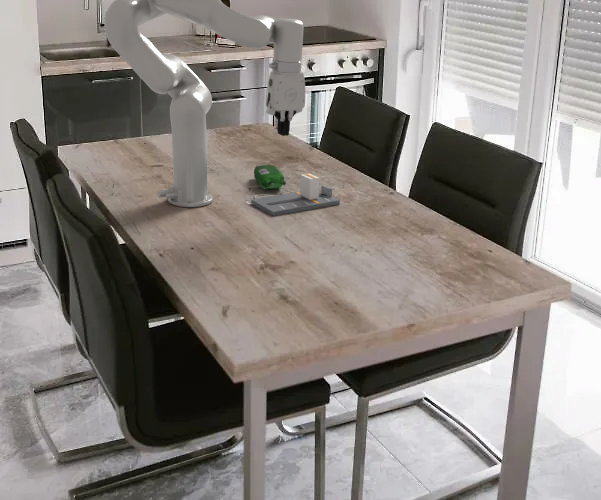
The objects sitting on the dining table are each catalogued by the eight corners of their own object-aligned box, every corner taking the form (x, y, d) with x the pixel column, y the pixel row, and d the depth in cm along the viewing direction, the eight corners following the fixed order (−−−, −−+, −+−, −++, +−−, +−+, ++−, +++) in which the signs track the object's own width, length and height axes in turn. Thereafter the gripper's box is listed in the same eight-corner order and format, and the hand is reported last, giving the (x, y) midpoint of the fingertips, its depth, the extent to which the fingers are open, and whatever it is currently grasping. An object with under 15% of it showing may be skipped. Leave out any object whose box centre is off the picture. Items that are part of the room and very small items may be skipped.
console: (273, 216, 244) (273, 203, 242) (251, 203, 253) (251, 191, 252) (339, 204, 255) (340, 192, 254) (316, 192, 264) (316, 180, 263)
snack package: (262, 194, 262) (263, 177, 260) (251, 178, 276) (251, 162, 274) (286, 193, 264) (287, 176, 262) (274, 177, 278) (274, 161, 276)
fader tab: (309, 199, 253) (310, 178, 251) (300, 194, 257) (300, 174, 255) (318, 198, 255) (319, 177, 252) (308, 193, 258) (309, 172, 256)
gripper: (270, 70, 231) (266, 140, 238) (318, 68, 239) (313, 135, 246) (255, 65, 237) (252, 133, 243) (302, 63, 245) (298, 129, 251)
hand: (283, 134), depth 244 cm, fingers closed
